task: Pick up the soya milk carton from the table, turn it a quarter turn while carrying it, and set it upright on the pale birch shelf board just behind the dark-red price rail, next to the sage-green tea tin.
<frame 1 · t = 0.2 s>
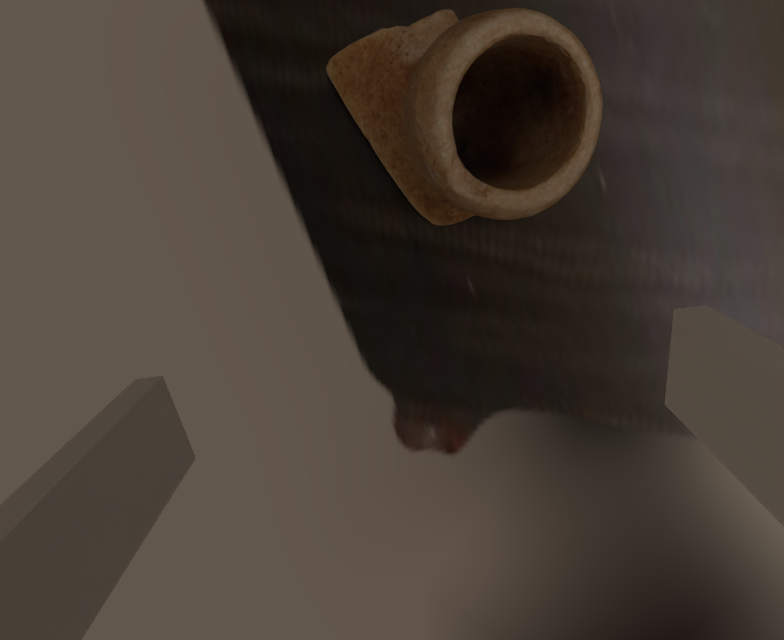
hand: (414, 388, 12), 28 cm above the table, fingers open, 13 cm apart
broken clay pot: (445, 116, 35), on the table
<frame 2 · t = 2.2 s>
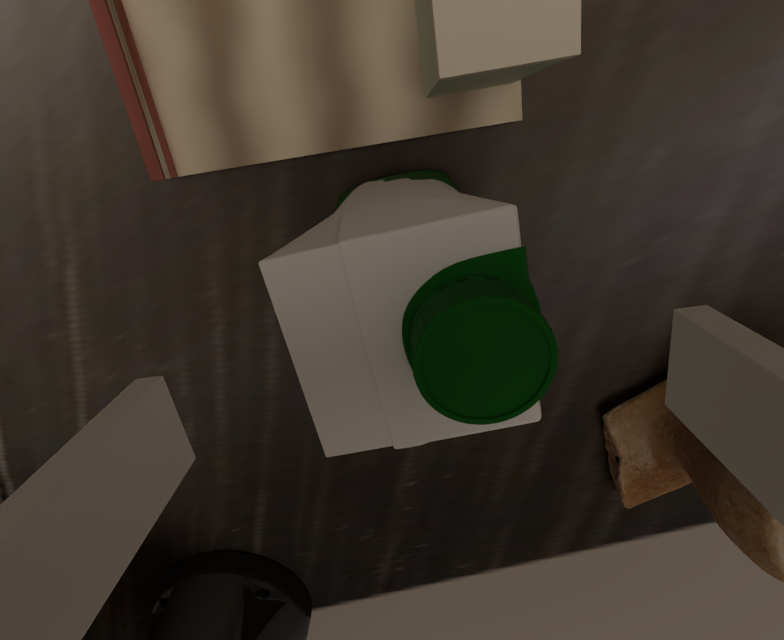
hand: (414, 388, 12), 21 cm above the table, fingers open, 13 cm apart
tea tin: (463, 30, 24), point 2 cm above the table, touching shelf board
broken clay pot: (676, 403, 36), on the table
shelf board: (326, 61, 27), on the table
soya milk: (402, 233, 31), on the table
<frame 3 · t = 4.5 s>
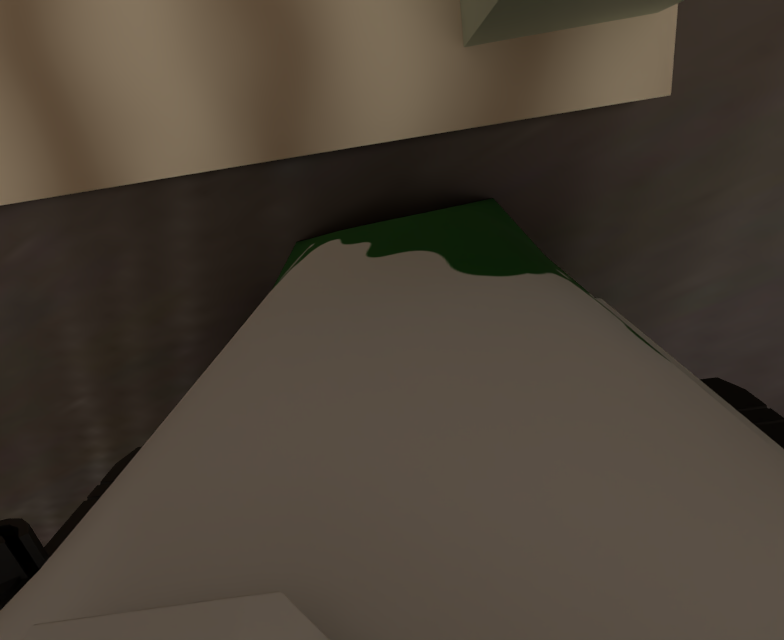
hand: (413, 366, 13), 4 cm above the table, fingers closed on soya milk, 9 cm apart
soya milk: (410, 307, 17), on the table, touching gripper
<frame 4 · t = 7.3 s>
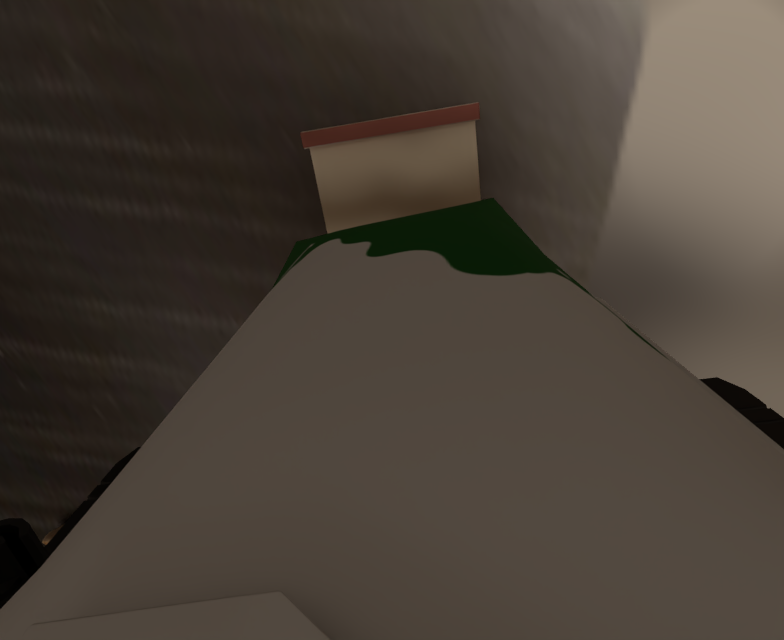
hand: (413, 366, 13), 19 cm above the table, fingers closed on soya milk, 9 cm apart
shelf board: (412, 284, 32), on the table
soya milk: (410, 307, 17), point 15 cm above the table, touching gripper
when the fingers open (7 cm above the table, at t = 10.3 s): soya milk stays where it is, resting on shelf board.
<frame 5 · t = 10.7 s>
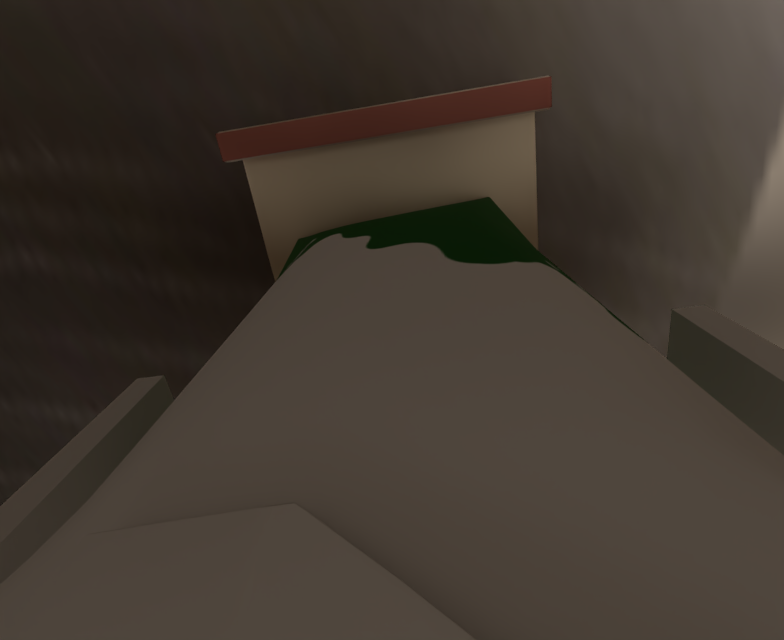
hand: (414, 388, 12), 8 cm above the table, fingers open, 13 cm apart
shelf board: (420, 368, 21), on the table
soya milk: (408, 303, 18), point 2 cm above the table, touching shelf board
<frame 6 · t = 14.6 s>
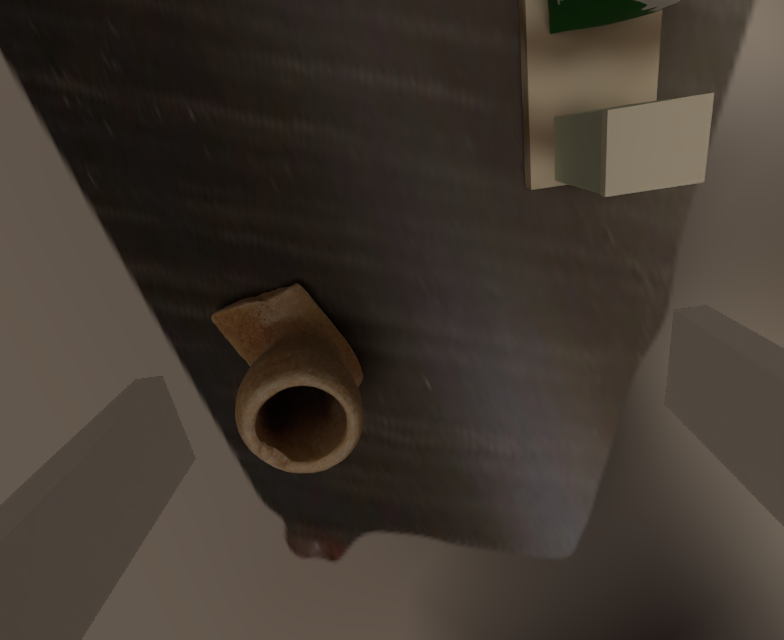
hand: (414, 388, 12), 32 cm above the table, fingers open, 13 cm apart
tea tin: (591, 143, 37), point 2 cm above the table, touching shelf board
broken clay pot: (307, 338, 47), on the table
shelf board: (583, 36, 36), on the table
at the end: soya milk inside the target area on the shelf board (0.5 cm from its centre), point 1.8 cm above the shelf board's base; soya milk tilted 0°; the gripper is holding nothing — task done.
